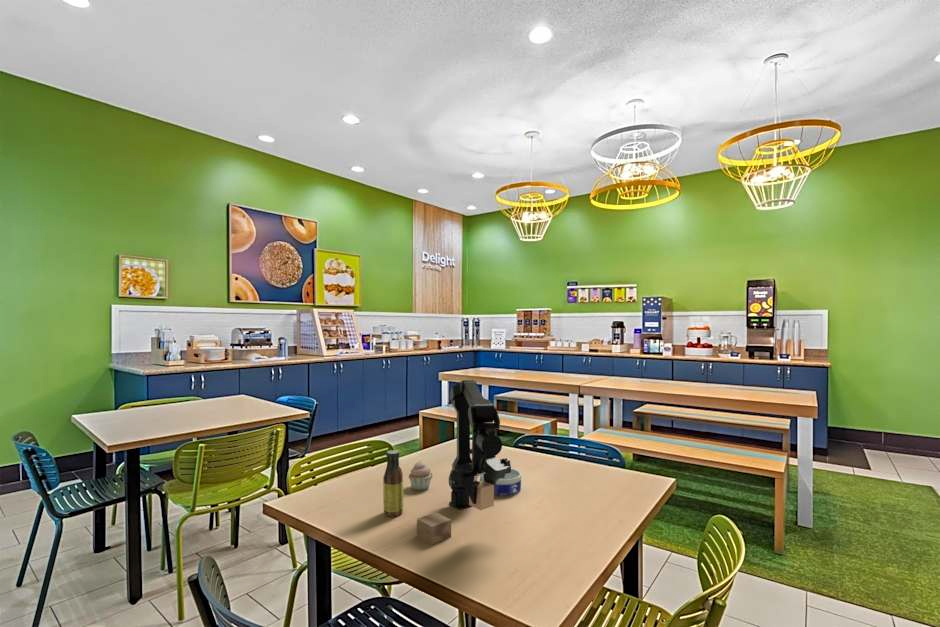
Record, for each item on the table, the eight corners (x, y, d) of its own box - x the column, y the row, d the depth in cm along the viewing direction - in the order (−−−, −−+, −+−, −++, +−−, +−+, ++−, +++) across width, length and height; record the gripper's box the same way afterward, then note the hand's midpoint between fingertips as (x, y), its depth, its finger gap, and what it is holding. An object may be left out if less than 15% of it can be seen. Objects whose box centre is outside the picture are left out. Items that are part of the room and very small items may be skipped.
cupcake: (434, 484, 175) (435, 457, 175) (430, 493, 166) (430, 465, 166) (410, 483, 176) (411, 456, 176) (405, 491, 167) (405, 464, 167)
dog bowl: (506, 500, 161) (506, 482, 161) (471, 490, 170) (471, 473, 170) (528, 488, 173) (528, 471, 173) (494, 479, 182) (495, 464, 182)
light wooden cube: (482, 500, 135) (482, 480, 135) (493, 505, 131) (493, 484, 131) (469, 504, 132) (469, 483, 132) (480, 510, 128) (480, 488, 128)
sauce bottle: (394, 508, 152) (395, 447, 152) (407, 513, 148) (408, 450, 148) (378, 514, 147) (379, 451, 147) (391, 519, 143) (392, 455, 143)
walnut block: (435, 529, 137) (436, 512, 137) (451, 537, 132) (451, 519, 132) (416, 536, 132) (416, 518, 132) (431, 545, 127) (432, 526, 127)
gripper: (475, 458, 120) (475, 519, 119) (524, 447, 132) (524, 502, 131) (449, 449, 128) (448, 506, 128) (498, 439, 140) (497, 491, 140)
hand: (481, 501), depth 132 cm, fingers closed on light wooden cube, 5 cm apart
